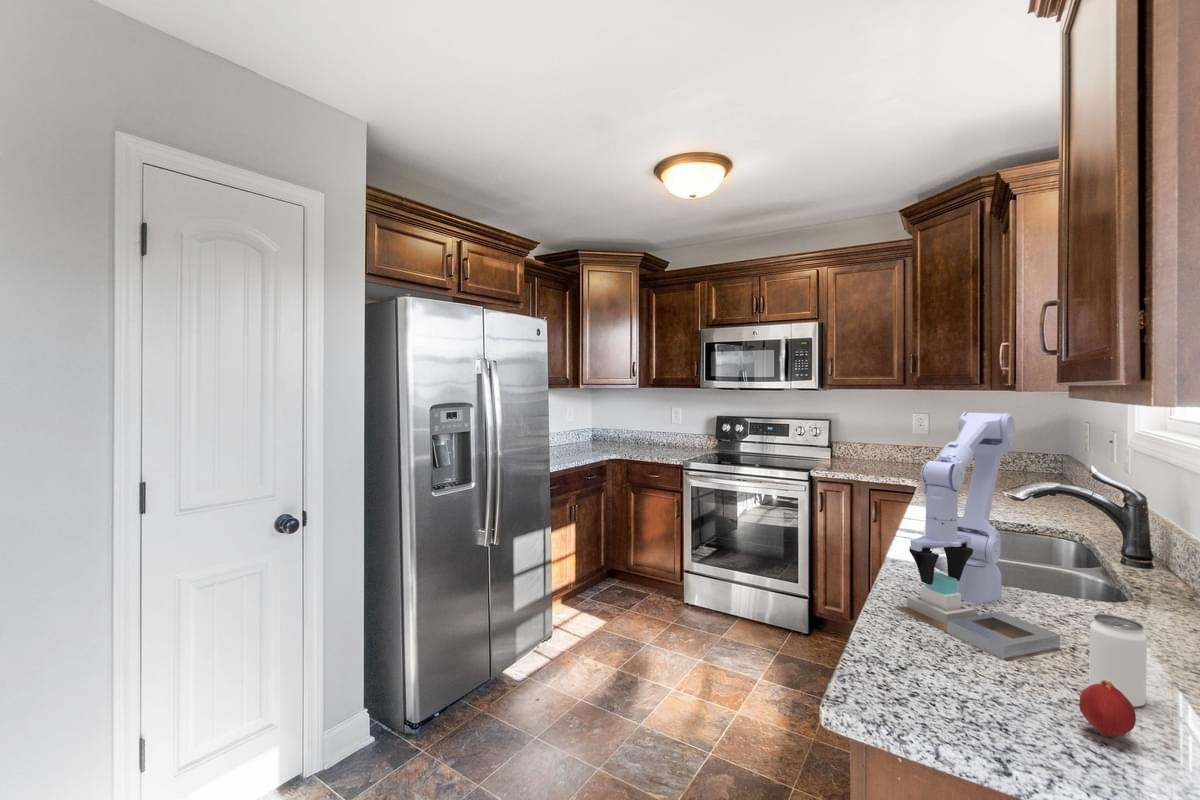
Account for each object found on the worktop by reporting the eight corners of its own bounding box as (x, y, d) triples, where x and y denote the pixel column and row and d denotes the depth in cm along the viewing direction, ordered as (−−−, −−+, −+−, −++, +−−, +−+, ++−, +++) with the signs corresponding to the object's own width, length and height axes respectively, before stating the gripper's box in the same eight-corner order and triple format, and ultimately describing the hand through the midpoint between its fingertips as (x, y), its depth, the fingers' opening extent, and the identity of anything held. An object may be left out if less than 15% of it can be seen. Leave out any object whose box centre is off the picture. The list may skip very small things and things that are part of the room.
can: (1157, 711, 81) (1159, 632, 81) (1107, 706, 82) (1109, 628, 82) (1125, 687, 87) (1126, 614, 87) (1079, 683, 89) (1080, 611, 88)
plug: (935, 606, 118) (935, 570, 118) (960, 617, 112) (961, 579, 112) (920, 608, 117) (921, 572, 116) (945, 620, 111) (946, 581, 111)
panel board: (944, 604, 121) (944, 600, 121) (1062, 654, 98) (1062, 649, 98) (895, 611, 117) (895, 608, 117) (1006, 665, 94) (1007, 661, 94)
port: (999, 623, 109) (1000, 611, 109) (1059, 648, 99) (1060, 635, 99) (947, 632, 105) (947, 620, 105) (1004, 660, 95) (1004, 645, 95)
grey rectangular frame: (934, 602, 120) (934, 592, 120) (975, 620, 111) (975, 609, 111) (907, 606, 118) (907, 596, 118) (946, 625, 109) (946, 614, 109)
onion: (1080, 717, 79) (1081, 664, 79) (1135, 735, 75) (1136, 679, 75) (1077, 735, 75) (1078, 679, 75) (1135, 755, 71) (1136, 696, 71)
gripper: (931, 524, 108) (930, 591, 108) (985, 519, 112) (984, 584, 112) (902, 516, 115) (901, 579, 115) (954, 512, 119) (953, 573, 119)
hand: (940, 581), depth 114 cm, fingers open, 7 cm apart
